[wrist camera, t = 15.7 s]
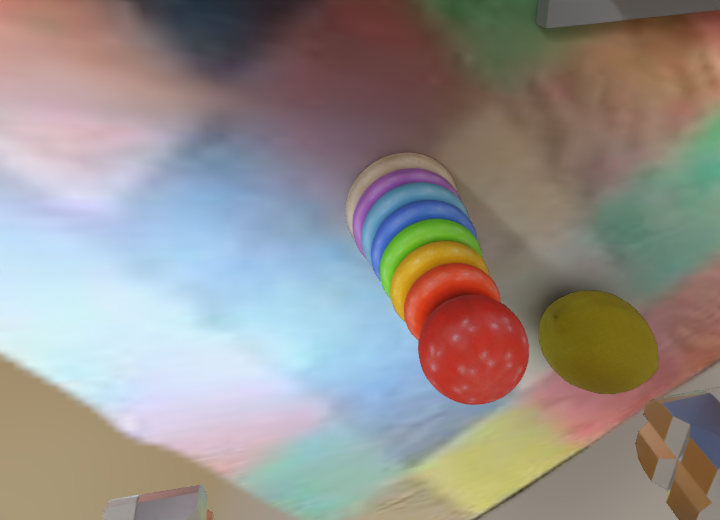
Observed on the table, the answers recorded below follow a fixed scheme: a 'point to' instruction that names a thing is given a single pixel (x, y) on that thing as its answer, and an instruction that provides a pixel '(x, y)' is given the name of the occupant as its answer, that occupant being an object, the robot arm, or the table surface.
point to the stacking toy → (437, 277)
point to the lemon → (598, 342)
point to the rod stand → (613, 10)
